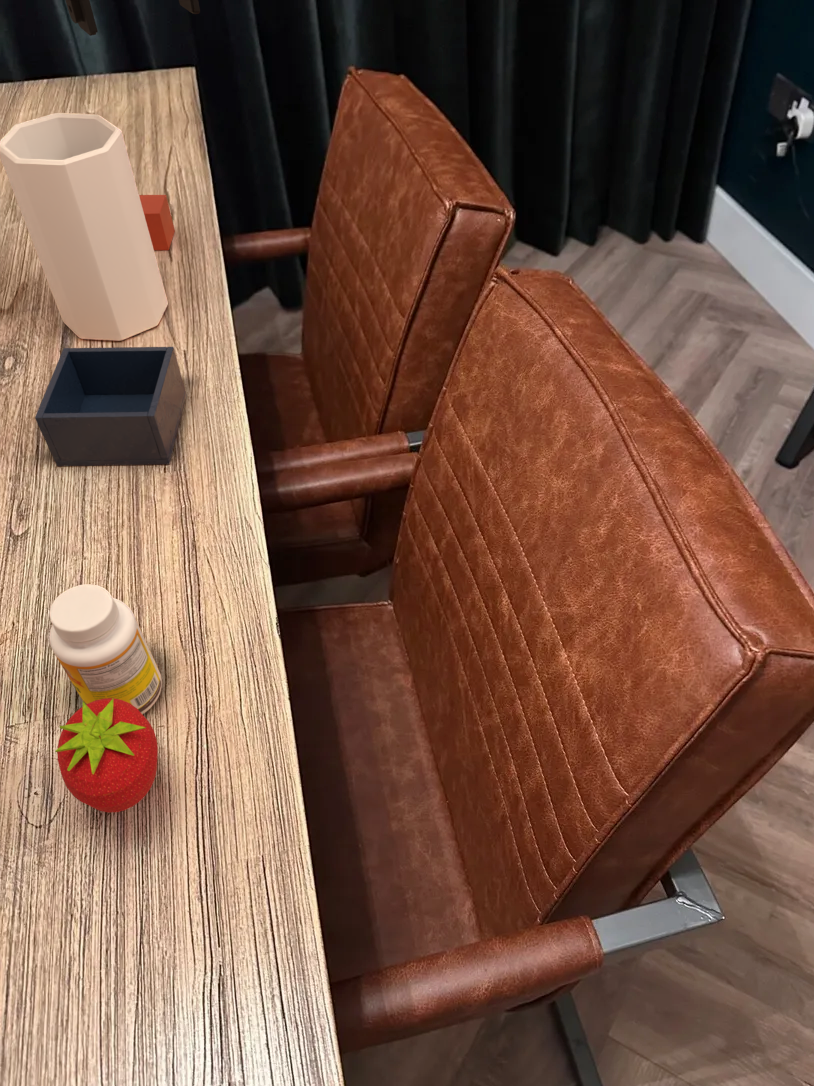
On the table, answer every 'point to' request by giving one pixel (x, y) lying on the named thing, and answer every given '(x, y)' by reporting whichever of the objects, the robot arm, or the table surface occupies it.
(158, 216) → the red block
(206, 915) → the table surface
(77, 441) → the navy tray box
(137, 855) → the table surface
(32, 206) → the cup
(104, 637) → the supplement bottle
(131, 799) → the strawberry
